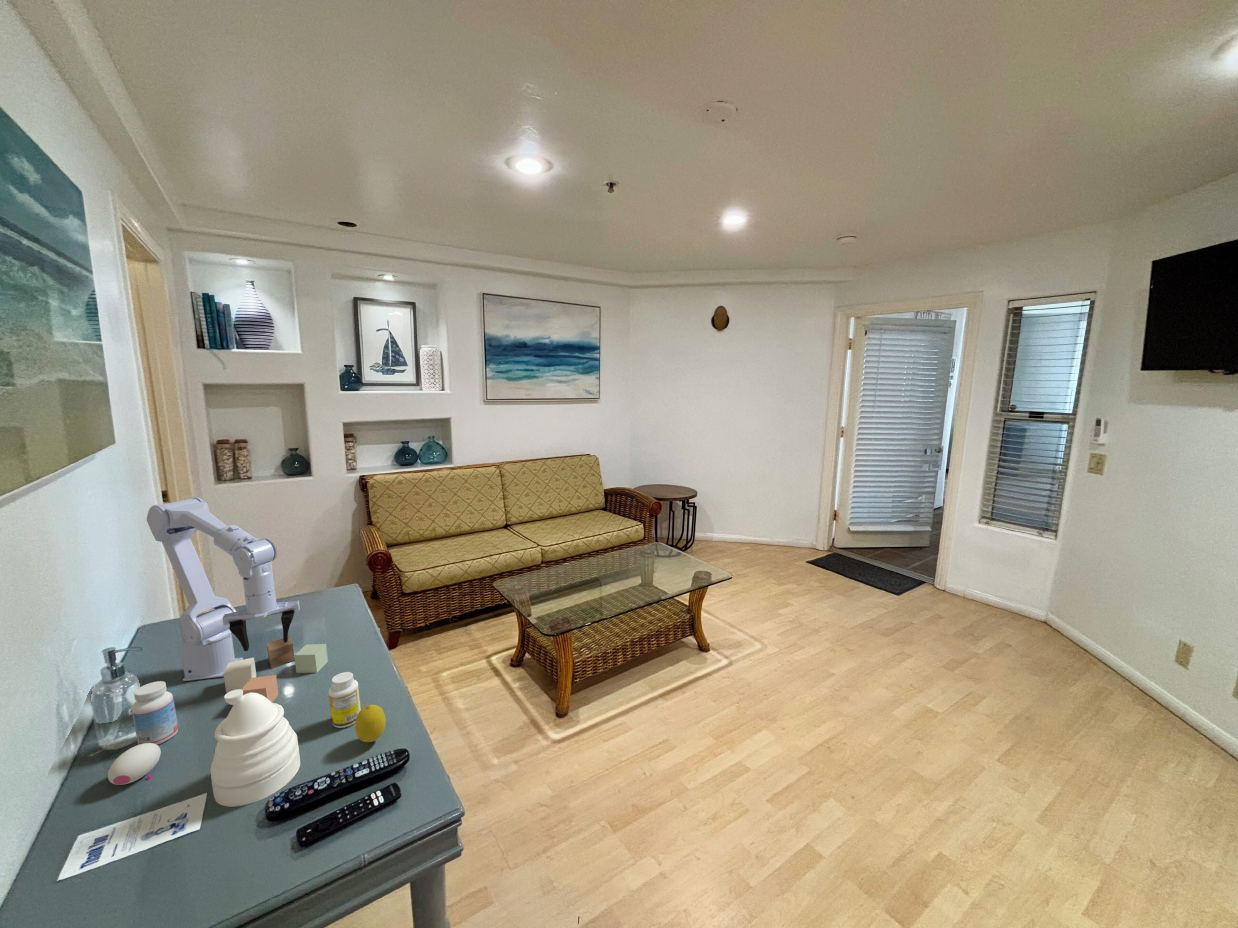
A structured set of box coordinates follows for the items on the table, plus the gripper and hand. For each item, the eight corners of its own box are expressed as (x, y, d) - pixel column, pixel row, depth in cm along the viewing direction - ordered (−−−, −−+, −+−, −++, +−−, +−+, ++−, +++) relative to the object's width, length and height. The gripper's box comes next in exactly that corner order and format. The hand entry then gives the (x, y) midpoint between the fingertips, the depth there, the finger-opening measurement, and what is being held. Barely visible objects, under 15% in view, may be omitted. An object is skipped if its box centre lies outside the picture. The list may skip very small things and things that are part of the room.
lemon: (356, 755, 94) (352, 718, 93) (356, 737, 99) (353, 701, 98) (387, 745, 97) (384, 709, 96) (386, 728, 102) (383, 693, 100)
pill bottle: (184, 732, 101) (176, 683, 99) (147, 752, 95) (137, 700, 93) (169, 723, 103) (161, 675, 101) (131, 742, 98) (122, 692, 96)
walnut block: (271, 668, 123) (269, 650, 123) (268, 660, 127) (266, 643, 126) (294, 661, 127) (292, 643, 126) (291, 653, 130) (289, 636, 130)
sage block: (296, 673, 121) (294, 655, 121) (308, 662, 126) (306, 644, 126) (317, 672, 122) (314, 654, 121) (327, 661, 127) (325, 643, 126)
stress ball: (150, 776, 93) (128, 749, 93) (180, 756, 92) (158, 729, 92) (106, 809, 86) (82, 780, 85) (138, 787, 85) (114, 758, 85)
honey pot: (232, 819, 81) (217, 721, 78) (201, 785, 87) (187, 695, 84) (313, 767, 91) (303, 680, 88) (281, 741, 98) (270, 659, 95)
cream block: (226, 692, 114) (223, 673, 113) (231, 681, 118) (228, 662, 117) (252, 686, 116) (249, 667, 115) (256, 675, 120) (253, 657, 120)
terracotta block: (242, 711, 107) (240, 690, 106) (254, 697, 112) (251, 677, 111) (268, 708, 108) (265, 687, 108) (278, 694, 113) (276, 674, 112)
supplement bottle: (340, 712, 107) (336, 669, 105) (366, 711, 107) (362, 668, 105) (326, 729, 101) (321, 685, 100) (353, 729, 102) (349, 684, 100)
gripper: (216, 604, 107) (225, 661, 109) (295, 590, 114) (301, 644, 116) (223, 592, 113) (230, 646, 115) (297, 580, 120) (303, 631, 122)
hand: (266, 644), depth 116 cm, fingers open, 7 cm apart
